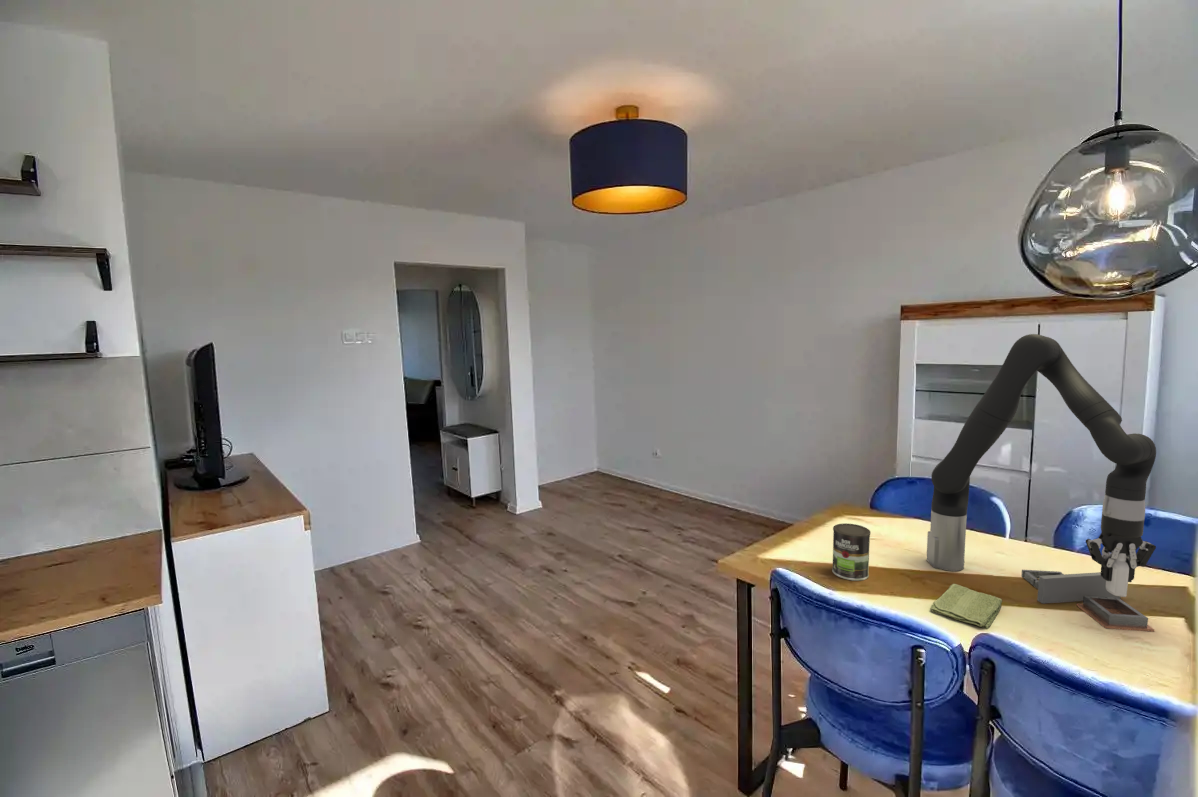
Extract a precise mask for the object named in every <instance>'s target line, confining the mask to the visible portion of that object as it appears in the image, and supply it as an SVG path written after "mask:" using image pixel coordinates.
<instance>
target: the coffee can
mask: <svg viewBox="0 0 1198 797" xmlns="http://www.w3.org/2000/svg"><path fill="white" fill-rule="evenodd" d="M832 530H833V539H832V541H833V543H832V569H831V571H832V573H833V574H834V575H835V576H836V577H838V578H841V579H843V580H848V581H853V582H854V581H855V582H856V581H857V582H861V581H865V580H867V579H869V571H870V570H869V569H870V568H869V567H870V543H871V542H870V541H871V540H870V539H871V530H870V529H869V528H867V527H865V526H863V525H859V524H857V523H856V524H855V523H854V524H853V523H839V524H835V525H834V526H833V527H832Z"/></svg>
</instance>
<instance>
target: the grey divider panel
mask: <svg viewBox="0 0 1198 797" xmlns="http://www.w3.org/2000/svg"><path fill="white" fill-rule="evenodd" d="M1063 574H1064V573H1063ZM1038 580H1039V584H1038V589H1037V602H1039V603H1041V604H1054V603H1055V604H1056V603H1057V604H1058V603H1073V602H1083V598H1084V596H1095V597H1111V598H1120V599H1121V598H1122V597H1121V596H1115V595H1113V594H1111V593H1109V592H1108V591H1107V590H1106V580H1105V579H1103V577H1102V576H1101V571H1100V572H1099V571H1098V572H1083V573H1068V574H1064V575H1048V576H1039V578H1038Z"/></svg>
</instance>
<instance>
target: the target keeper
mask: <svg viewBox="0 0 1198 797" xmlns="http://www.w3.org/2000/svg"><path fill="white" fill-rule="evenodd" d="M1076 607H1078V608H1079V609H1080V610H1081V611H1083V612H1084V613H1085V614H1087V615H1088V617H1091V618H1092V620H1094V621H1095V622H1097V623H1098V624H1099V625H1100V626H1102V627H1103V628H1104V629H1113V630H1124V631H1136V632H1137V631H1139V632H1155V628H1153V627H1152V626H1150V625H1149V618H1148V617H1147V616H1146V615H1144V614H1143V613H1141V611H1138V609H1135V608H1134V607H1132V605H1130V604H1129V603H1127V602H1125V601H1124V600H1122V599H1121V598H1111V597H1095V596H1084V598H1083V601H1082V603H1080V602H1079V603H1076Z"/></svg>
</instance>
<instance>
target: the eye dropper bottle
mask: <svg viewBox="0 0 1198 797" xmlns="http://www.w3.org/2000/svg"><path fill="white" fill-rule="evenodd" d="M1125 561H1126V554H1124V553H1119V555H1118V557H1117V559H1116V560H1114V562H1113V565H1112V568H1113V571H1112V580H1111V581H1106V590H1107V591H1108V592H1109V593H1111V594H1113V595H1115V596H1121V598H1126V597H1127V594H1128V586H1129V585H1128V584H1129V582H1128V577H1129V566H1128V564H1127V563H1126V562H1125Z"/></svg>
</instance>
